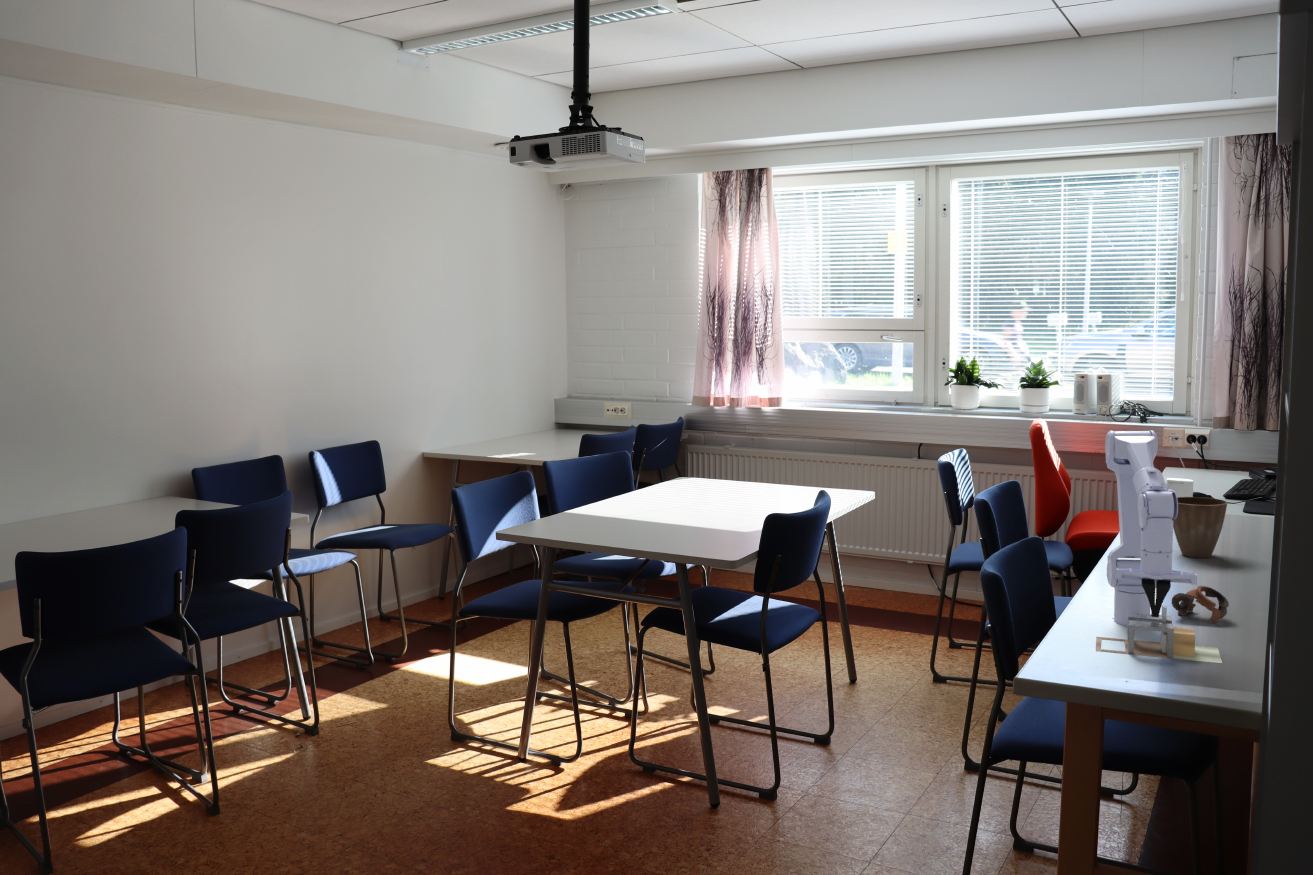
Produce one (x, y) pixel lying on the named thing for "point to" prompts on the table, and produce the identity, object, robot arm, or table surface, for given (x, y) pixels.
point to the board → (1155, 651)
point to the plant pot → (1199, 525)
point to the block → (1183, 641)
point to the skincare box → (1180, 486)
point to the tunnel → (1149, 629)
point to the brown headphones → (1201, 602)
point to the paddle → (1163, 634)
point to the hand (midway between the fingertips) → (1155, 615)
